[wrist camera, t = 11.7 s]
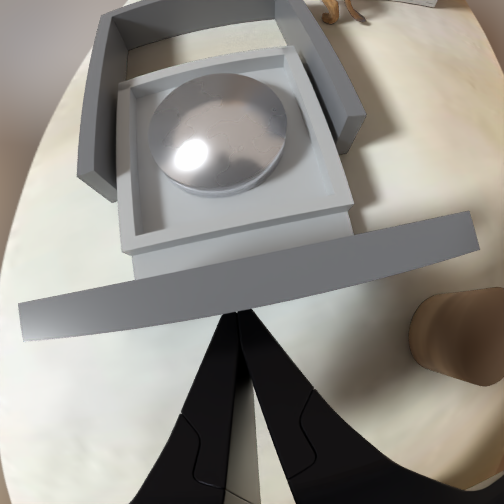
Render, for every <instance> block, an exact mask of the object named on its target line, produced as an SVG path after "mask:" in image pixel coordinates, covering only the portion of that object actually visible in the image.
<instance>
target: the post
mask: <svg viewBox="0 0 504 504" xmlns="http://www.w3.org/2000/svg"><path fill="white" fill-rule="evenodd" d="M409 346H410V350H411V353H412V355H413V357H414V359H415V360H416V362H417V363H418V364H419V365H421V366H422V367H424V368H426V369H429V370H432V371H435V372H438V373H441V374H444V375H447V376H450V377H453V378H456V379H460V380H463V381H466V382H469V383H472V384H476V385H479V386H490V385H493V384H495V383H497V382H498V381H500V380H501V379H502V378H503V377H504V288H501V287H493V288H486V289H479V290H471V291H463V292H455V293H447V294H438V295H434V296H432V297H430V298H428V299H426V300H425V301H424V302H423V303H422V304H421V305H420V306H419V307H418V309H417V310H416V312H415V314H414V316H413V318H412V321H411V324H410V328H409Z"/></svg>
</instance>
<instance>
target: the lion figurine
mask: <svg viewBox="0 0 504 504" xmlns="http://www.w3.org/2000/svg"><path fill="white" fill-rule="evenodd" d="M320 1H322V2H323V3H324V4H325V5H326V7H327V8H328V10H329V13H323V14H322V20H323V21H324V22H325V23H329V24H332V23H335V22H336V21H337V20H338V18H339V6H338V2H337V1H336V0H320ZM344 1H345V4H346V7H347V9H348V11H349V12H350V14H351V15H352V17H354V18H355V19H356V20H357V21H360V22H365V21H366V19H365V18H364V17H363V16H362V15H361V14H359V13H358V12H357V11H355V10H354V9H353V7H352V5H351V1H350V0H344Z"/></svg>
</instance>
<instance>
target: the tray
mask: <svg viewBox="0 0 504 504" xmlns="http://www.w3.org/2000/svg"><path fill="white" fill-rule="evenodd" d="M218 73H232V74H240V75H244V76H248V77H250V78H253V79H256V80H258V81H260V82H262V83H263V84H265V85H266V86H268V87H269V88H270V89H271V90H272V91H273V92H274V93H275V94H276V95H277V96H278V98H279V99H280V101H281V102H282V104H283V107H284V109H285V112H286V117H287V132H286V139H285V147H284V151H283V155H282V157H281V160H280V162H279V164H278V165H277V167H276V169H275V170H274V171H273V172H272V174H271V175H270V176H269V177H268V178H267V179H266V180H264V181H263V182H262V183H261V184H259V185H258V186H256V187H255V188H253V189H251V190H249V191H247V192H244V193H242V194H239V195H236V196H232V197H226V198H203V197H198V196H194V195H191V194H189V193H186V192H184V191H183V190H181V189H179V188H178V187H176V186H175V185H174V184H172V183H171V182H170V181H169V180H168V178H167V177H166V176H165V174H164V173H163V171H162V170H161V169H160V167H159V166H158V164H157V163H156V162H155V160H154V158H153V156H152V154H151V151H150V148H149V143H148V130H149V125H150V122H151V119H152V116H153V114H154V112H155V110H156V109H157V107H158V106H159V104H160V103H161V102H162V101H163V100H164V98H165V97H166V96H167V95H169V94H170V93H171V92H172V91H173V90H175V89H176V88H177V87H179V86H181V85H182V84H184V83H186V82H188V81H190V80H193V79H195V78H198V77H201V76H205V75H210V74H218ZM116 173H117V199H118V215H119V228H120V240H121V250H122V252H123V253H125V254H128V255H130V256H132V262H133V270H134V277H135V280H133V281H128V282H123V283H118V284H113V285H108V286H103V287H98V288H93V289H88V290H83V291H78V292H73V293H68V294H63V295H58V296H53V297H48V298H43V299H38V300H33V301H28V302H23V303H18V307H19V316H20V324H21V331H22V337H23V342H26V341H37V340H48V339H57V338H67V337H76V336H84V335H93V334H100V333H108V332H116V331H123V330H130V329H137V328H144V327H150V326H157V325H163V324H169V323H175V322H181V321H187V320H193V319H199V318H204V317H210V316H215V315H221V314H226V313H231V312H236V311H241V310H246V309H251V308H256V307H261V306H266V305H271V304H276V303H280V302H285V301H290V300H294V299H299V298H303V297H307V296H312V295H316V294H321V293H325V292H329V291H333V290H337V289H341V288H346V287H350V286H354V285H358V284H362V283H365V282H369V281H373V280H377V279H381V278H385V277H388V276H392V275H396V274H399V273H403V272H407V271H410V270H414V269H417V268H421V267H424V266H428V265H431V264H435V263H438V262H441V261H445V260H448V259H451V258H455V257H458V256H461V255H464V254H467V253H471V252H474V251H477V250H480V248H479V244H478V240H477V236H476V233H475V229H474V225H473V222H472V219H471V215H470V212H469V211H465V212H461V213H456V214H451V215H447V216H442V217H437V218H432V219H428V220H423V221H418V222H414V223H409V224H404V225H399V226H395V227H390V228H385V229H381V230H376V231H371V232H366V233H361V234H357V235H354V233H353V229H352V225H351V222H350V218H349V215H348V210H349V209H350V208H351V207H352V206H353V205H354V201H353V198H352V194H351V191H350V188H349V185H348V182H347V179H346V176H345V172H344V169H343V166H342V163H341V161H340V158H339V155H338V152H337V149H336V146H335V143H334V141H333V138H332V135H331V132H330V130H329V127H328V125H327V122H326V119H325V117H324V114H323V112H322V109H321V107H320V104H319V102H318V99H317V97H316V94H315V92H314V90H313V87H312V85H311V83H310V80H309V78H308V76H307V73H306V71H305V69H304V67H303V64H302V62H301V60H300V58H299V56H298V54H297V52H296V49H295V47H294V46H283V47H273V48H264V49H257V50H250V51H243V52H237V53H231V54H225V55H220V56H215V57H210V58H205V59H201V60H196V61H192V62H188V63H184V64H180V65H176V66H172V67H168V68H165V69H161V70H158V71H154V72H151V73H148V74H144V75H141V76H138V77H135V78H132V79H129V80H126V81H123V82H121V83H119V84H118V100H117V125H116Z"/></svg>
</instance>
